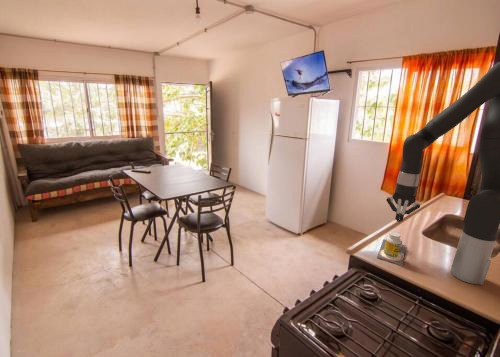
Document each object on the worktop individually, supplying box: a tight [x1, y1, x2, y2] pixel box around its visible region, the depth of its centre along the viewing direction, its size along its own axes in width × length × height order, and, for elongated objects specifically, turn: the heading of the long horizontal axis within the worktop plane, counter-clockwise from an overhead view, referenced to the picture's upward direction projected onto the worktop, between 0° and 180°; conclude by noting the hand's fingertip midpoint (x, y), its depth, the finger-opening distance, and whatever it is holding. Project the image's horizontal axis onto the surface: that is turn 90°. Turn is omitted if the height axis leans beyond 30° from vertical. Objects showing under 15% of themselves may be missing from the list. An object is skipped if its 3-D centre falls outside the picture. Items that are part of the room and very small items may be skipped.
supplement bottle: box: [384, 231, 402, 258], centre depth 105 cm, size 5×5×10 cm
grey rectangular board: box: [376, 238, 406, 267], centre depth 110 cm, size 9×18×3 cm, turn 146°
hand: (398, 221), depth 111 cm, fingers closed
